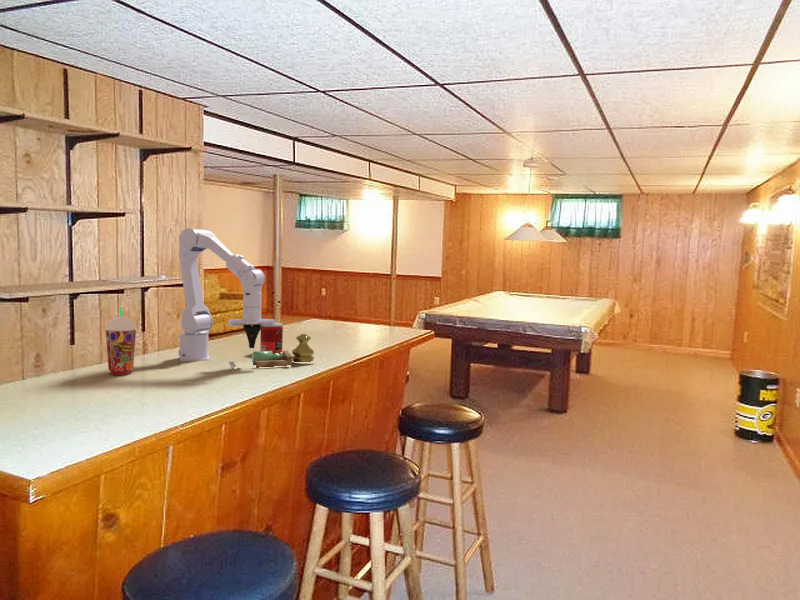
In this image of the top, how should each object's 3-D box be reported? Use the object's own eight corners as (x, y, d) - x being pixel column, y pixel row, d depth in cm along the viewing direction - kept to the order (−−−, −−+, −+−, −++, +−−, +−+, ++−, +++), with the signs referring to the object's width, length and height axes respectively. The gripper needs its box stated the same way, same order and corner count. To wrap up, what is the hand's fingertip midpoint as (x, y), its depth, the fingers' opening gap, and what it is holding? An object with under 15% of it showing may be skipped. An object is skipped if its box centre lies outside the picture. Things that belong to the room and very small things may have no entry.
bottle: (254, 352, 196) (283, 351, 200) (252, 350, 200) (280, 350, 204) (254, 365, 196) (283, 364, 200) (252, 364, 200) (280, 363, 204)
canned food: (279, 355, 217) (280, 325, 216) (257, 354, 217) (258, 324, 216) (284, 352, 225) (285, 322, 224) (263, 351, 225) (263, 321, 224)
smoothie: (124, 377, 175) (124, 309, 173) (99, 375, 177) (98, 307, 175) (142, 371, 183) (142, 306, 181) (117, 369, 185) (117, 304, 183)
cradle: (232, 370, 190) (232, 358, 190) (229, 362, 201) (229, 351, 201) (292, 368, 197) (292, 356, 196) (286, 361, 208) (286, 350, 208)
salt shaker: (316, 361, 209) (316, 333, 208) (310, 365, 202) (311, 336, 201) (295, 360, 210) (295, 332, 209) (289, 364, 202) (289, 335, 202)
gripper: (230, 307, 190) (229, 350, 191) (276, 307, 195) (275, 349, 196) (228, 305, 196) (227, 346, 198) (273, 305, 201) (272, 345, 203)
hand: (251, 347), depth 197 cm, fingers closed
